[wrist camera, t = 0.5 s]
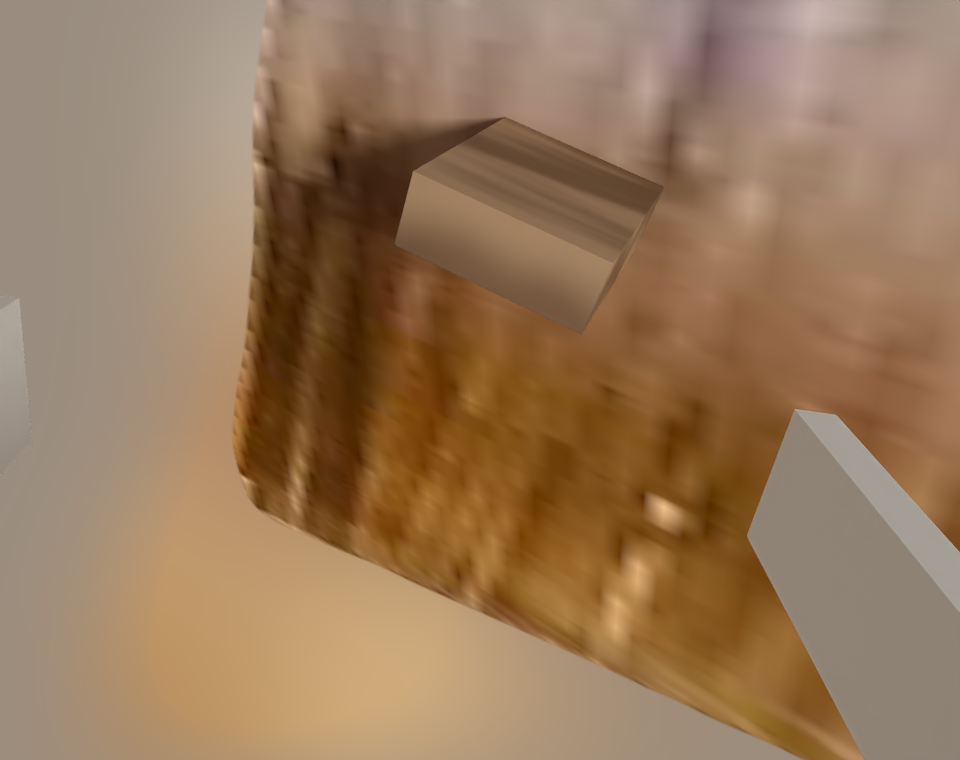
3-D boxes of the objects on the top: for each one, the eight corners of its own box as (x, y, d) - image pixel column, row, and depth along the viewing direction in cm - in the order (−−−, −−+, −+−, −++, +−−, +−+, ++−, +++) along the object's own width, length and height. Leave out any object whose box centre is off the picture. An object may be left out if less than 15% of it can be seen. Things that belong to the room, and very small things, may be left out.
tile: (505, 117, 41) (413, 171, 32) (664, 186, 40) (613, 263, 31) (486, 178, 43) (393, 244, 34) (636, 246, 42) (581, 334, 33)
